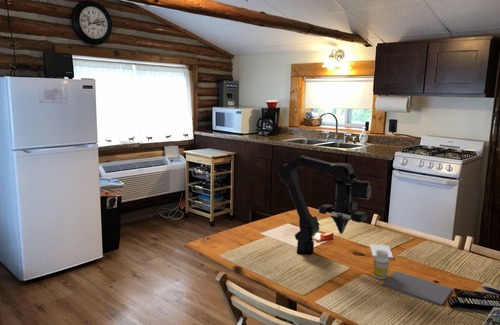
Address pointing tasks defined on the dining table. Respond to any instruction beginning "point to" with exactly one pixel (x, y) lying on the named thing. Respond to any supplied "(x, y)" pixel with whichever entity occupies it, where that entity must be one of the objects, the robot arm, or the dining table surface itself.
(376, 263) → the supplement bottle
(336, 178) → the robot arm
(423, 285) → the mat
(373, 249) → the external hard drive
